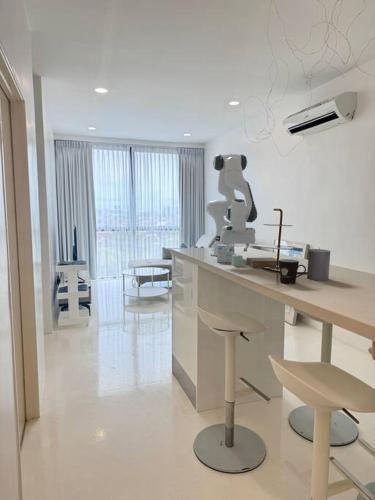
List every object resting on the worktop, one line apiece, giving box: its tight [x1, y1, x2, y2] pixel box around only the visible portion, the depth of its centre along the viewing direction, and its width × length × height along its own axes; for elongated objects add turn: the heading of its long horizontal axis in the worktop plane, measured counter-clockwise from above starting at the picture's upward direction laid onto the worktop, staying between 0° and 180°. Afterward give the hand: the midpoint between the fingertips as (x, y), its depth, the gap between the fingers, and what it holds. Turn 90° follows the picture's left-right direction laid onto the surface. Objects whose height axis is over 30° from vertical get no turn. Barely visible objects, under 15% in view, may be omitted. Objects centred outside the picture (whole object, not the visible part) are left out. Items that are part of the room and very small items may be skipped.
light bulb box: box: [216, 244, 235, 264], centre depth 212 cm, size 11×7×11 cm, turn 84°
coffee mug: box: [278, 258, 307, 285], centre depth 150 cm, size 12×9×10 cm
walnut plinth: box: [245, 257, 279, 269], centre depth 197 cm, size 14×16×4 cm
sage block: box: [231, 254, 244, 267], centre depth 198 cm, size 5×5×6 cm
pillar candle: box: [306, 247, 331, 282], centre depth 161 cm, size 10×10×15 cm
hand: (237, 251), depth 197 cm, fingers open, 8 cm apart
